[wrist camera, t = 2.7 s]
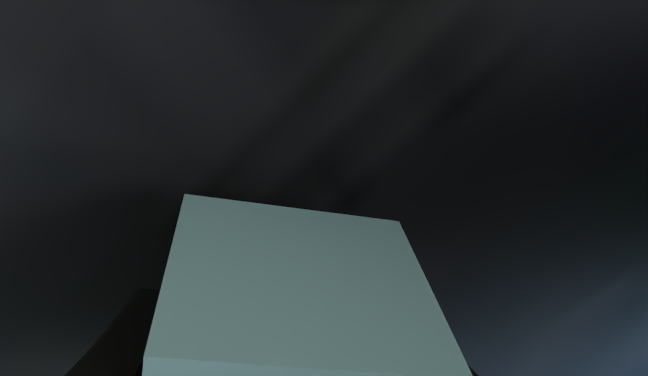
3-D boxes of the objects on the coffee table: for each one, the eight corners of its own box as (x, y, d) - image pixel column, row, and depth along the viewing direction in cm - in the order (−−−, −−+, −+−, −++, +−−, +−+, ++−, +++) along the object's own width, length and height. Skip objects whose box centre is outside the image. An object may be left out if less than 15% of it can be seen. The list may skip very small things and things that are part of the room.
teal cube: (398, 221, 13) (474, 380, 9) (352, 377, 15) (392, 570, 11) (184, 193, 12) (144, 356, 8) (165, 364, 14) (125, 570, 10)
